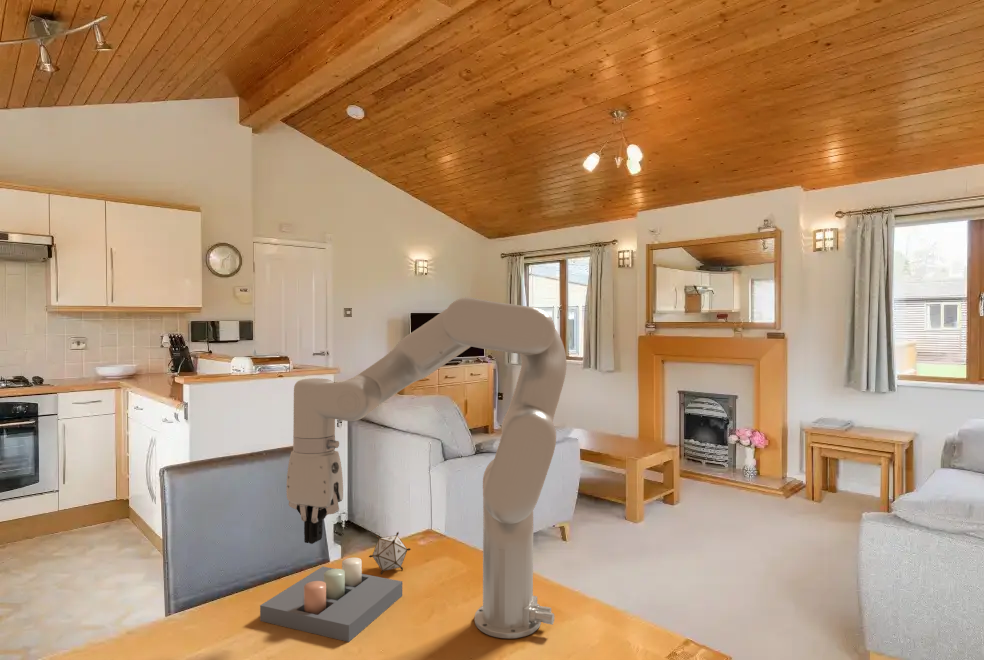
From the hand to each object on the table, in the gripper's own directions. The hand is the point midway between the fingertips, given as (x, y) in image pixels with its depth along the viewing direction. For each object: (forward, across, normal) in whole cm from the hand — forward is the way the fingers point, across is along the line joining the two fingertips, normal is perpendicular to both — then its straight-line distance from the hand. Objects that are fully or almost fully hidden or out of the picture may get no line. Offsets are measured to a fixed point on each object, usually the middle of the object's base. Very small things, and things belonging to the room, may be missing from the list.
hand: (313, 540), depth 113 cm
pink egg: (+14, 0, 0) cm, 14 cm away
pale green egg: (+14, 0, -6) cm, 15 cm away
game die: (+16, -2, -26) cm, 30 cm away
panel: (+16, 0, -6) cm, 17 cm away
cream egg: (+13, 0, -12) cm, 18 cm away
